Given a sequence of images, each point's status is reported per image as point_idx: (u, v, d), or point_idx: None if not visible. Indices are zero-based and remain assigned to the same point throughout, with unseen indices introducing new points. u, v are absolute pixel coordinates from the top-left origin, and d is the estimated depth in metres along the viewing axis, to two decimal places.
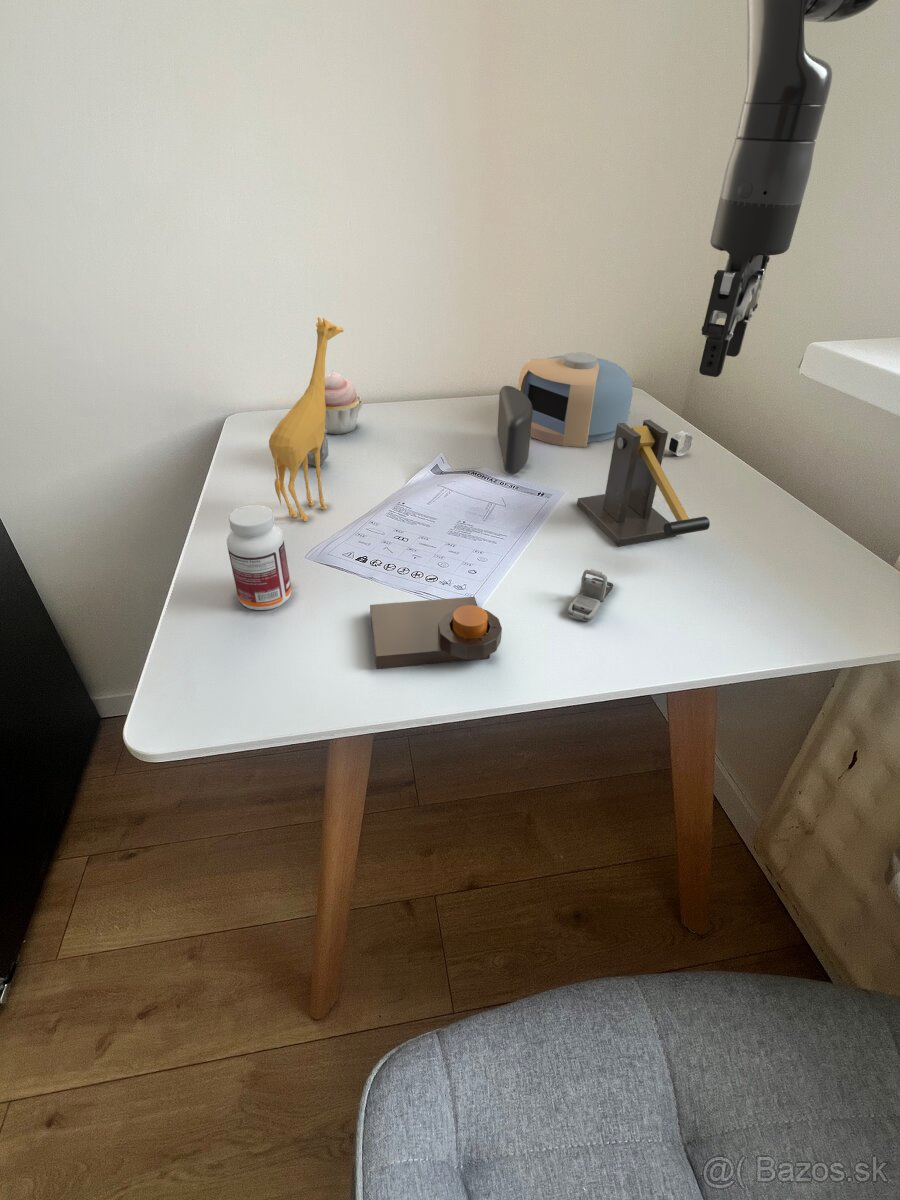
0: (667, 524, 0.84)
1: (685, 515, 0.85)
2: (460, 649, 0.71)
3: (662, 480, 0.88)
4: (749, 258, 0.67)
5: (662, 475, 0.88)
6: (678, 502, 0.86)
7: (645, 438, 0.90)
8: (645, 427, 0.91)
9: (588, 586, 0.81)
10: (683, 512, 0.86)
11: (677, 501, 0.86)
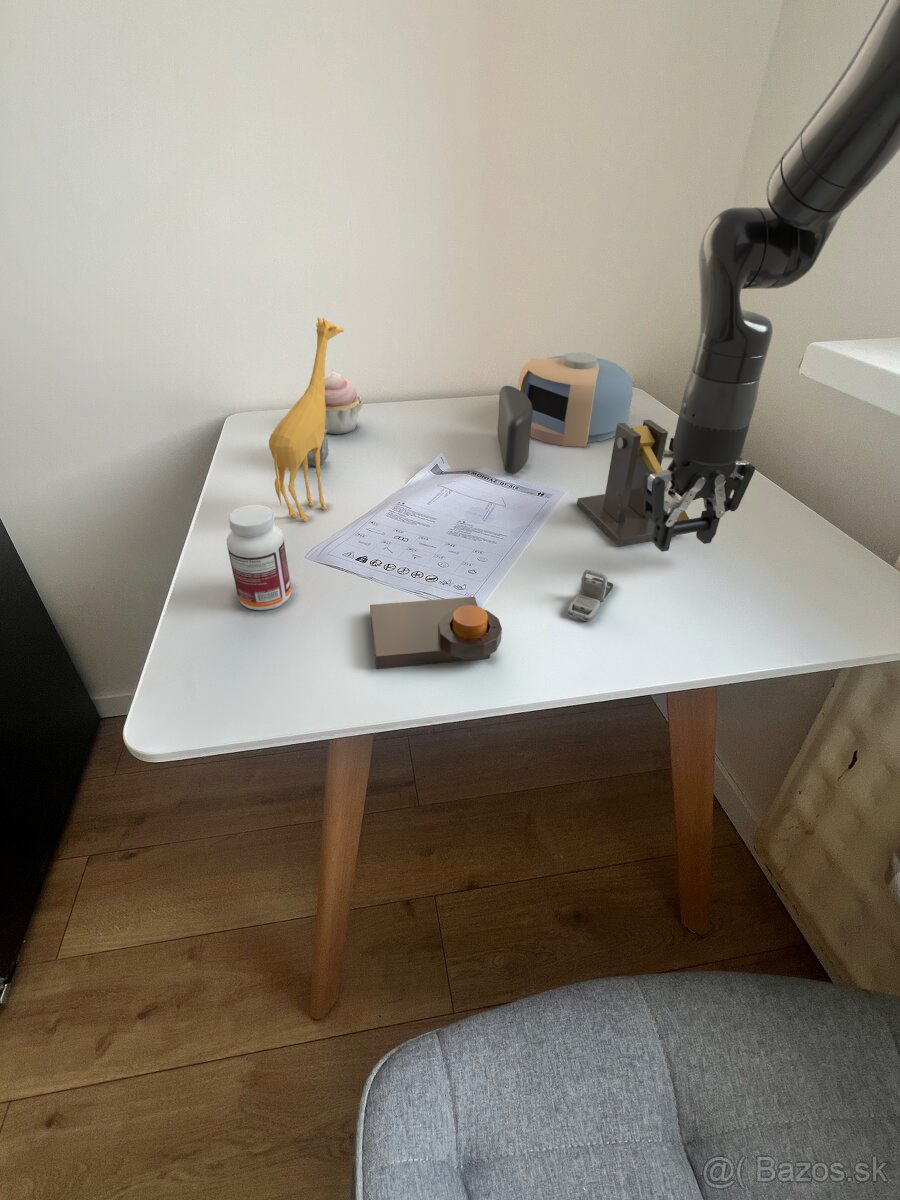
0: None
1: (685, 515, 0.85)
2: (460, 649, 0.71)
3: None
4: (683, 462, 0.78)
5: None
6: None
7: (645, 438, 0.90)
8: (645, 427, 0.91)
9: (588, 586, 0.81)
10: (683, 512, 0.86)
11: None
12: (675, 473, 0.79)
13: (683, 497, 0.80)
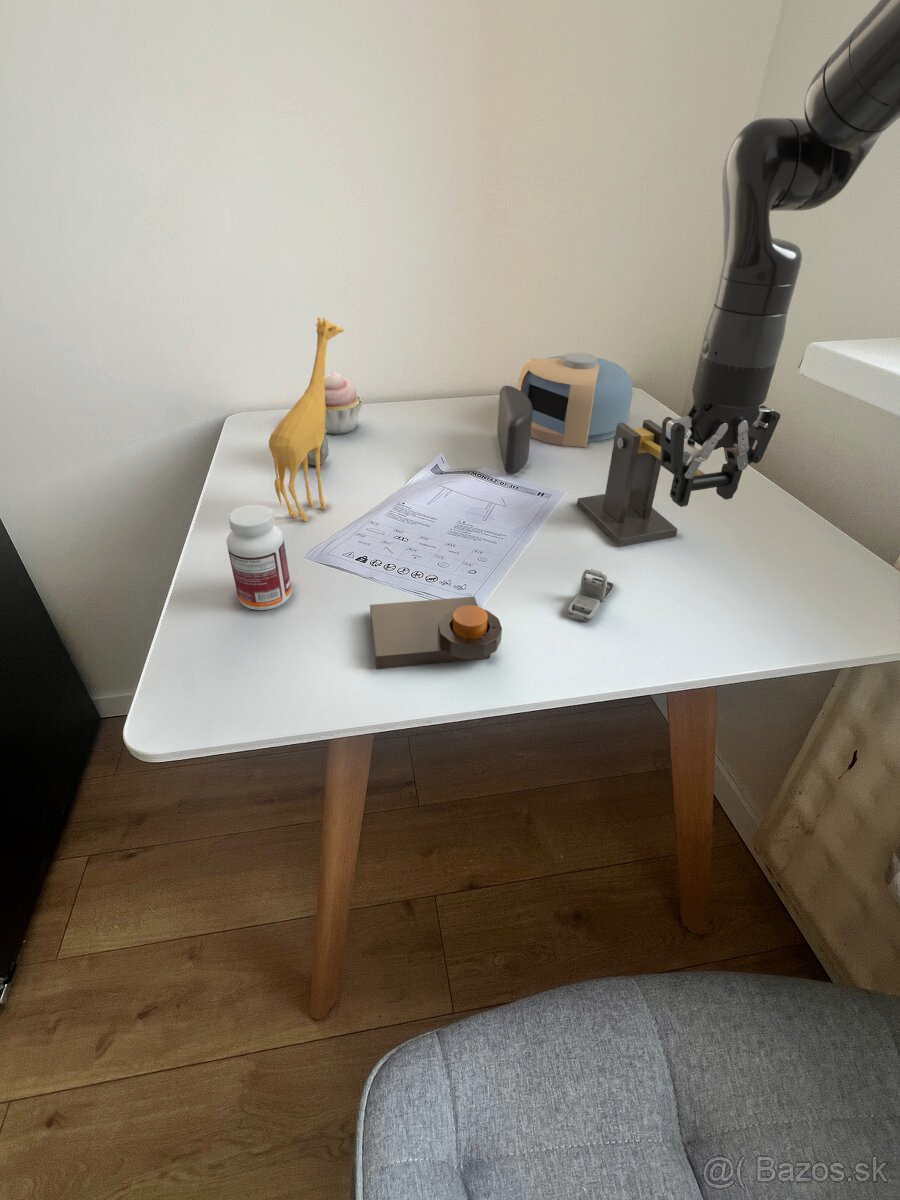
0: None
1: (701, 473, 0.81)
2: (460, 649, 0.71)
3: None
4: (704, 406, 0.73)
5: None
6: None
7: (644, 433, 0.90)
8: (642, 428, 0.92)
9: (588, 586, 0.81)
10: (699, 471, 0.81)
11: None
12: (696, 419, 0.74)
13: (704, 445, 0.75)
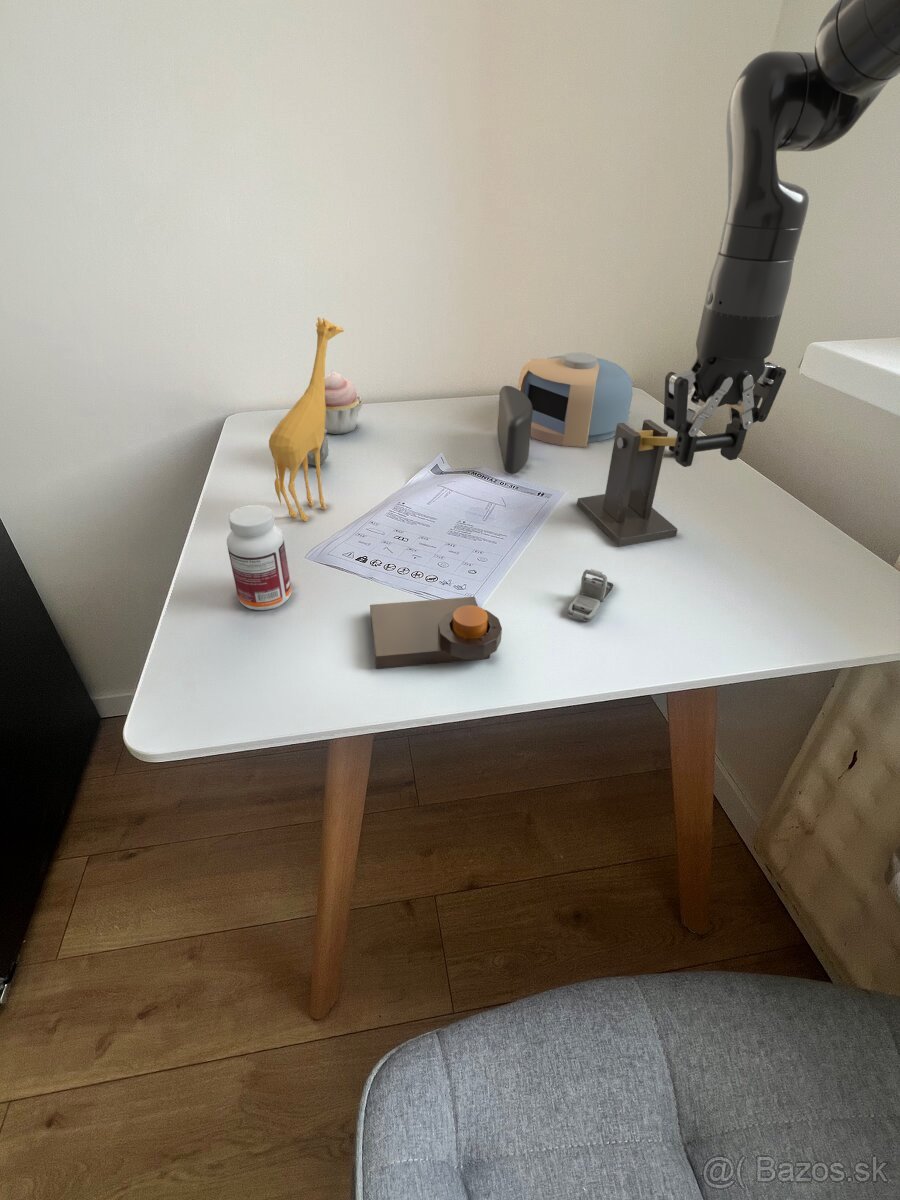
0: None
1: None
2: (460, 649, 0.71)
3: (670, 437, 0.85)
4: (709, 359, 0.71)
5: (669, 437, 0.85)
6: None
7: (642, 431, 0.90)
8: (640, 430, 0.92)
9: (588, 586, 0.81)
10: None
11: None
12: (699, 373, 0.72)
13: (708, 401, 0.73)
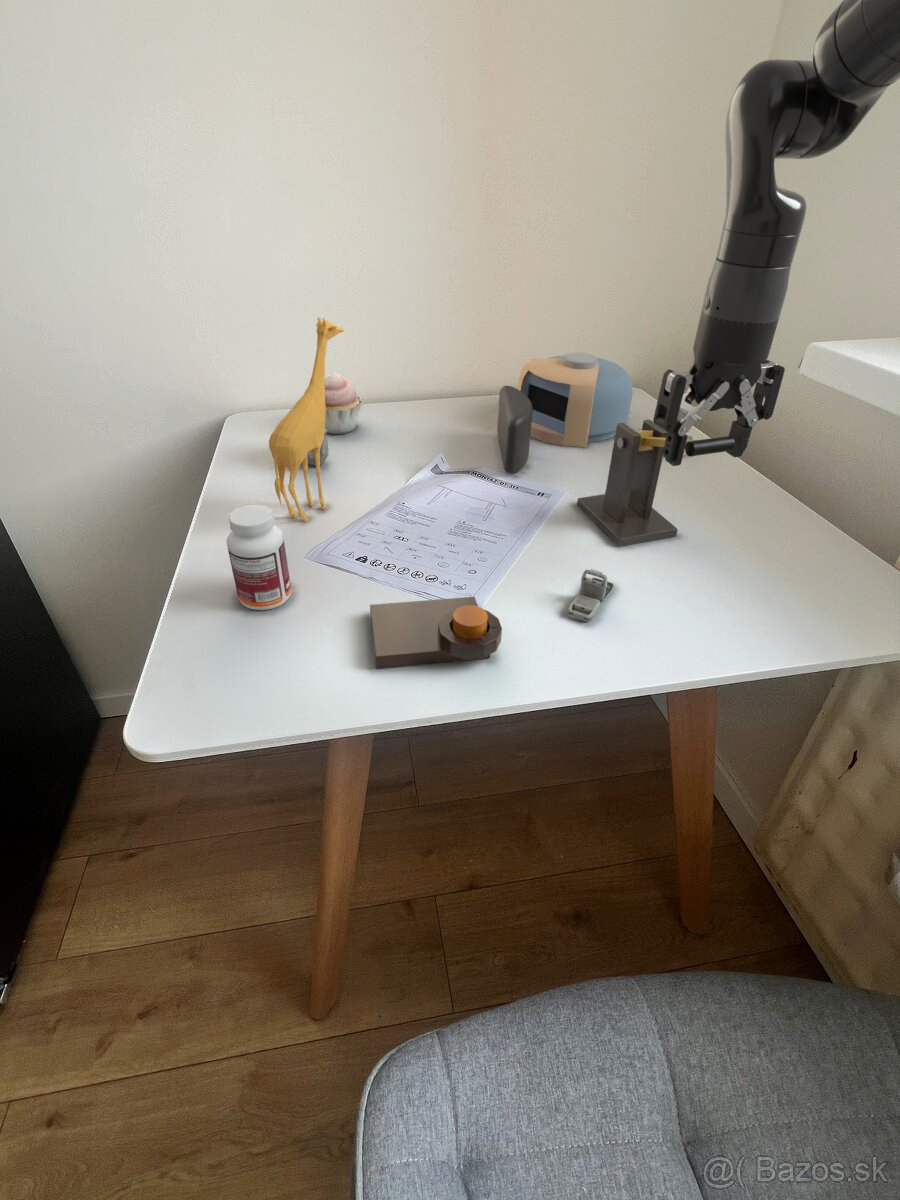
0: (686, 444, 0.78)
1: None
2: (460, 649, 0.71)
3: None
4: (706, 364, 0.72)
5: None
6: (693, 440, 0.82)
7: (642, 431, 0.90)
8: (640, 430, 0.92)
9: (588, 586, 0.81)
10: None
11: (692, 440, 0.82)
12: (696, 377, 0.72)
13: None
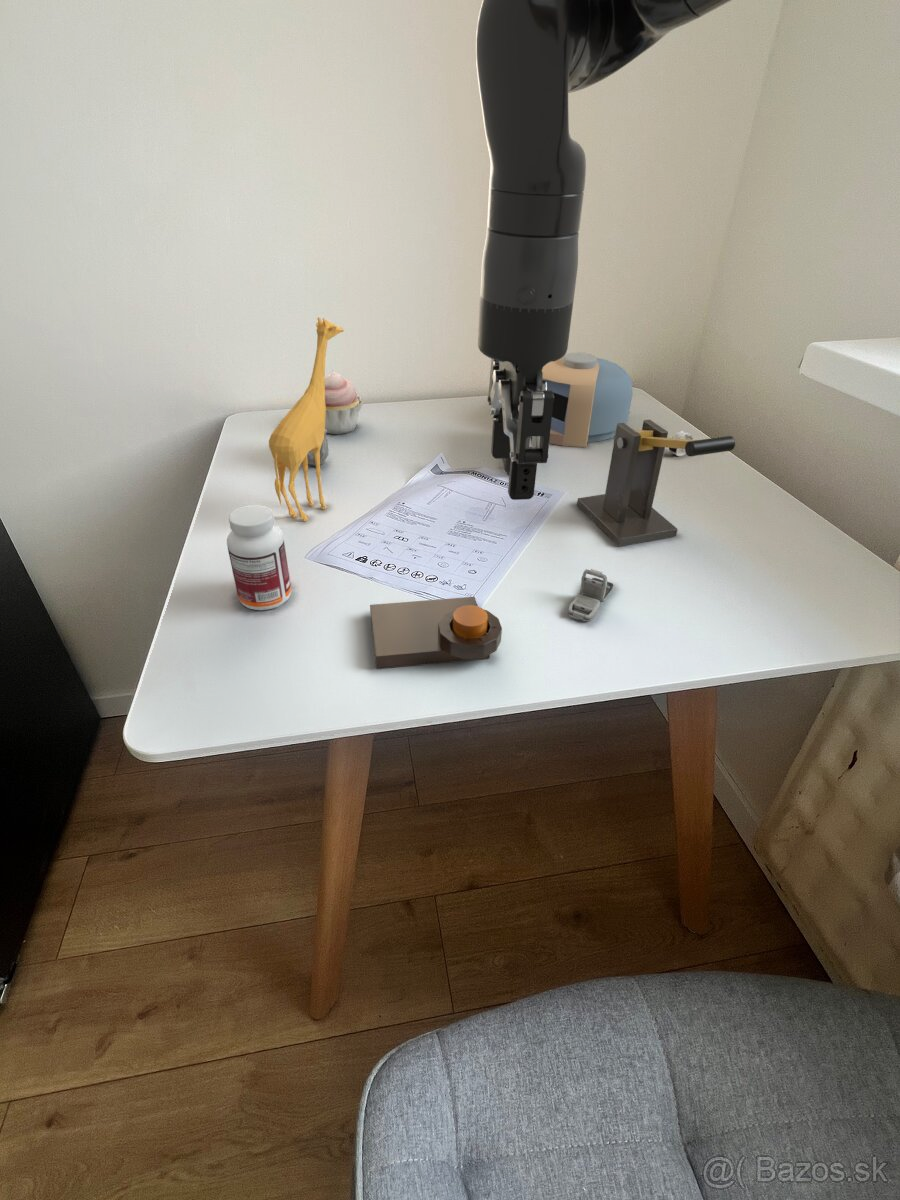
0: (686, 444, 0.78)
1: None
2: (460, 649, 0.71)
3: (670, 439, 0.85)
4: (542, 368, 0.56)
5: (670, 438, 0.85)
6: (693, 440, 0.82)
7: (642, 431, 0.90)
8: (640, 430, 0.92)
9: (588, 586, 0.81)
10: None
11: (692, 440, 0.82)
12: (539, 387, 0.56)
13: None
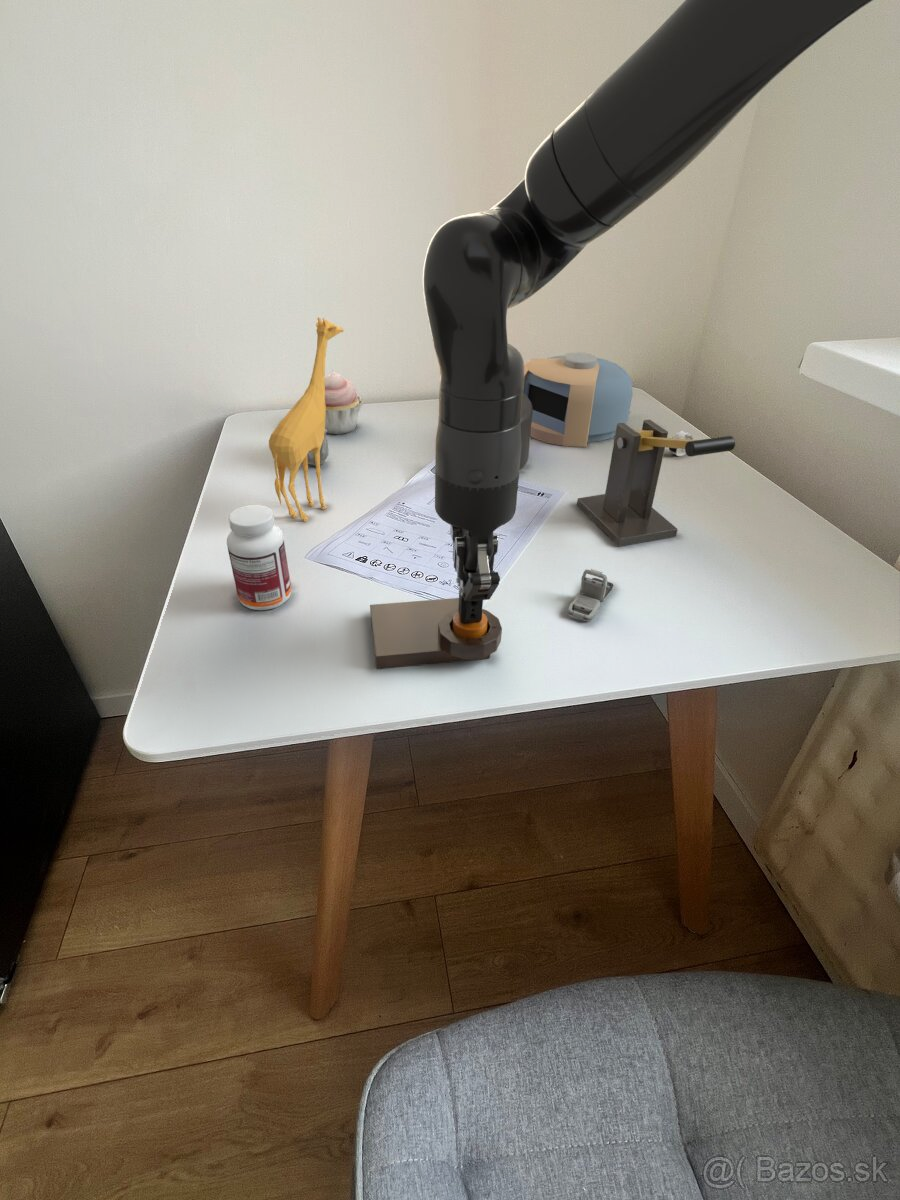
0: (686, 444, 0.78)
1: None
2: (460, 649, 0.71)
3: (670, 439, 0.85)
4: (492, 532, 0.62)
5: (670, 438, 0.85)
6: (693, 440, 0.82)
7: (642, 431, 0.90)
8: (640, 430, 0.92)
9: (588, 586, 0.81)
10: None
11: (692, 440, 0.82)
12: (491, 549, 0.63)
13: None
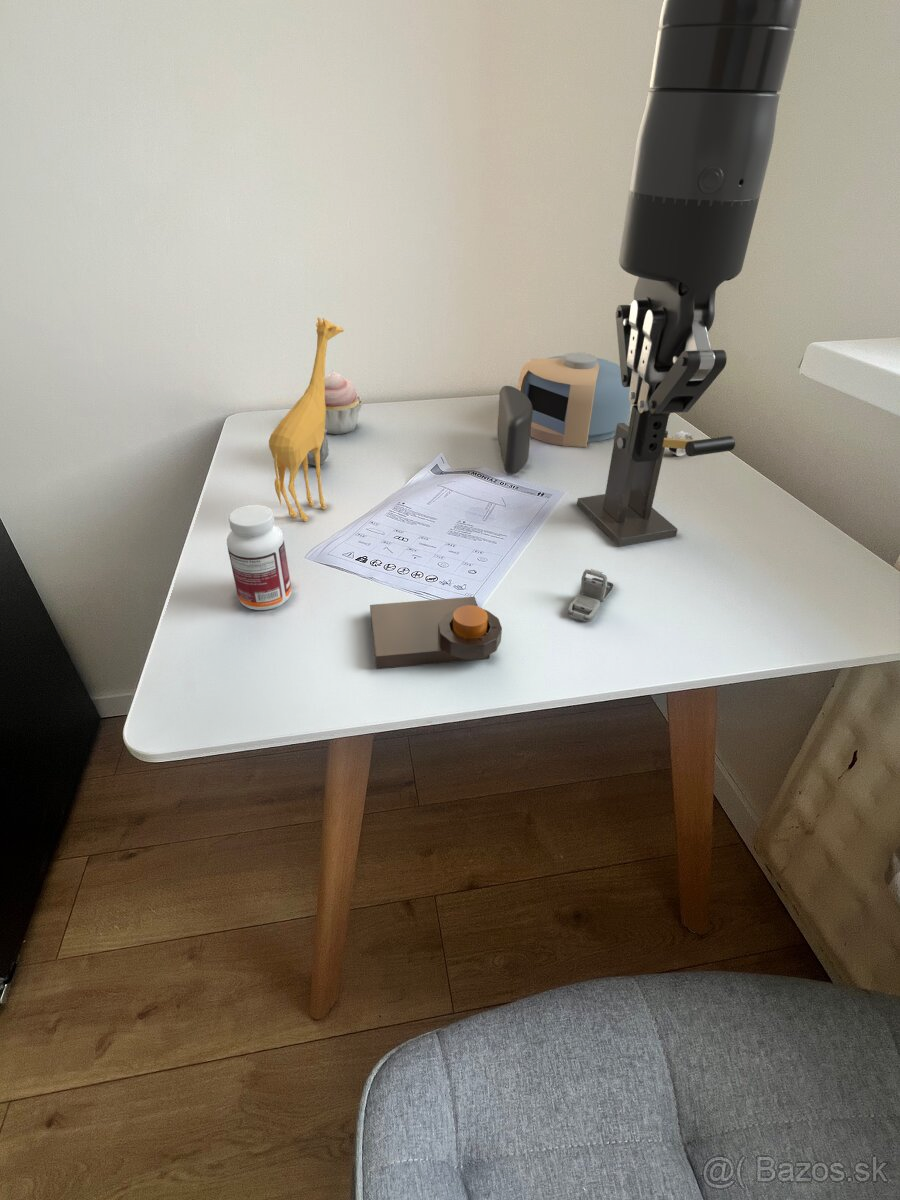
0: (686, 444, 0.78)
1: None
2: (460, 649, 0.71)
3: (670, 439, 0.85)
4: (716, 288, 0.42)
5: (670, 438, 0.85)
6: (693, 440, 0.82)
7: None
8: None
9: (588, 586, 0.81)
10: None
11: (692, 440, 0.82)
12: (712, 315, 0.42)
13: None
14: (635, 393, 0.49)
